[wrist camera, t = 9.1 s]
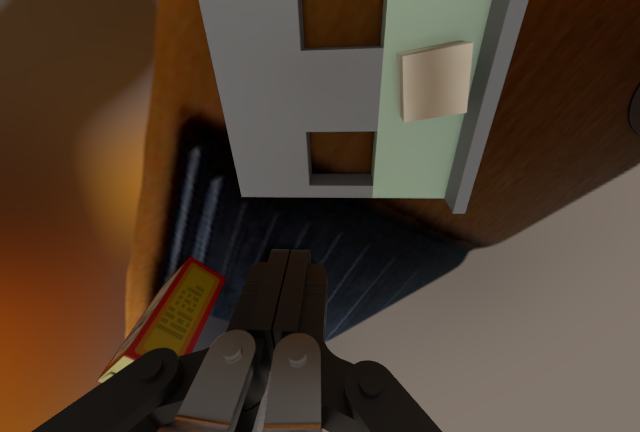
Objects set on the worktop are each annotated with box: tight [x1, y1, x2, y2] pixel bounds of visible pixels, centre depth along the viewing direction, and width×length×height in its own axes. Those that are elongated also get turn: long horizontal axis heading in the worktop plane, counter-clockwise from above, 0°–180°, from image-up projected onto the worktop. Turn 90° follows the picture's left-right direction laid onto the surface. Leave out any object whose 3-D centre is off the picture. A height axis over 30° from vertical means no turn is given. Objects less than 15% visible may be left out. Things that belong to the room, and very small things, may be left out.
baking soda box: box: [97, 256, 226, 384], centre depth 40 cm, size 10×6×16 cm
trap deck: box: [199, 0, 528, 214], centre depth 26 cm, size 24×22×6 cm
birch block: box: [397, 40, 473, 122], centre depth 24 cm, size 5×5×3 cm
